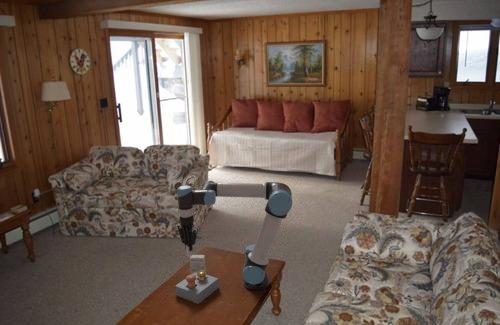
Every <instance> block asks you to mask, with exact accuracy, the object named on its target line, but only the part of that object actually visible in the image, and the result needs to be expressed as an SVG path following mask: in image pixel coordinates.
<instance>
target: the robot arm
mask: <svg viewBox="0 0 500 325" xmlns="http://www.w3.org/2000/svg"><path fill="white" fill-rule="evenodd" d="M292 195H293V194H292V190H291V188H290V187H289V185H288V184H286V183H284V182H278V181H277V182H275V181H265V182H264V183H241V182H240V183H238V182H236V183H234V182H232V183H231V182H230V183H229V182H215V181H214V180H207V181H205V182H204V183H203V184H202V185H201V188H200V189H197V190H196V189H193V188H192V186H190V185H186V184H185V185H181V186H179V187H178V188H177V196H176V197H177V206H178V215H179V217H178V218H179V224H178V225H177V226H176V228H177V230H178V233H179V236H180V240H181V243H182V244H184V246H185V248H184V249H185V251H186V257H187V258H190V257H191V256H192V255H193V249H194V248H193V246H195V245H196V243H197V242H196V241H197V234H198V231H199V229H198V228H196V227H195V224H194V222H195V216H194V206H196V205H197V206H213V205H215V204H216V200H217V198H218V197H220V198H222V197H224V198H225V197H226V198H255V199H259V198H260V199H261V198H262V199H264V201H265V200H267V202H266V205H265V207H264V212H265V217H264V219H263V222H262V224H261V227H260V230H259V232H258V235H257V239H256V240H255V244H250V245H247V246H246V247H245V250H244V253H245V254H244V255H245V258H244V262H243V268H242V272H241V273H242V277H243V281H242V282H243V286H244V287H245V288H246V289H248V290H250V291H261V290H264V289H267V288H268V287H269V286H270V283H271V282H270V277H269V274H268V272H267V268H268V265H269V263H270V259H269V258H268V257H269V255H270V251H271V249H272V247H273V245H274V241H275V239H276V237H277V234H278V231H279V228H280V225H281V223H282V220H284V219H286V218H287V216H288V213H289V212H290V211H291V209H292V206H293V197H292Z"/></svg>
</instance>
